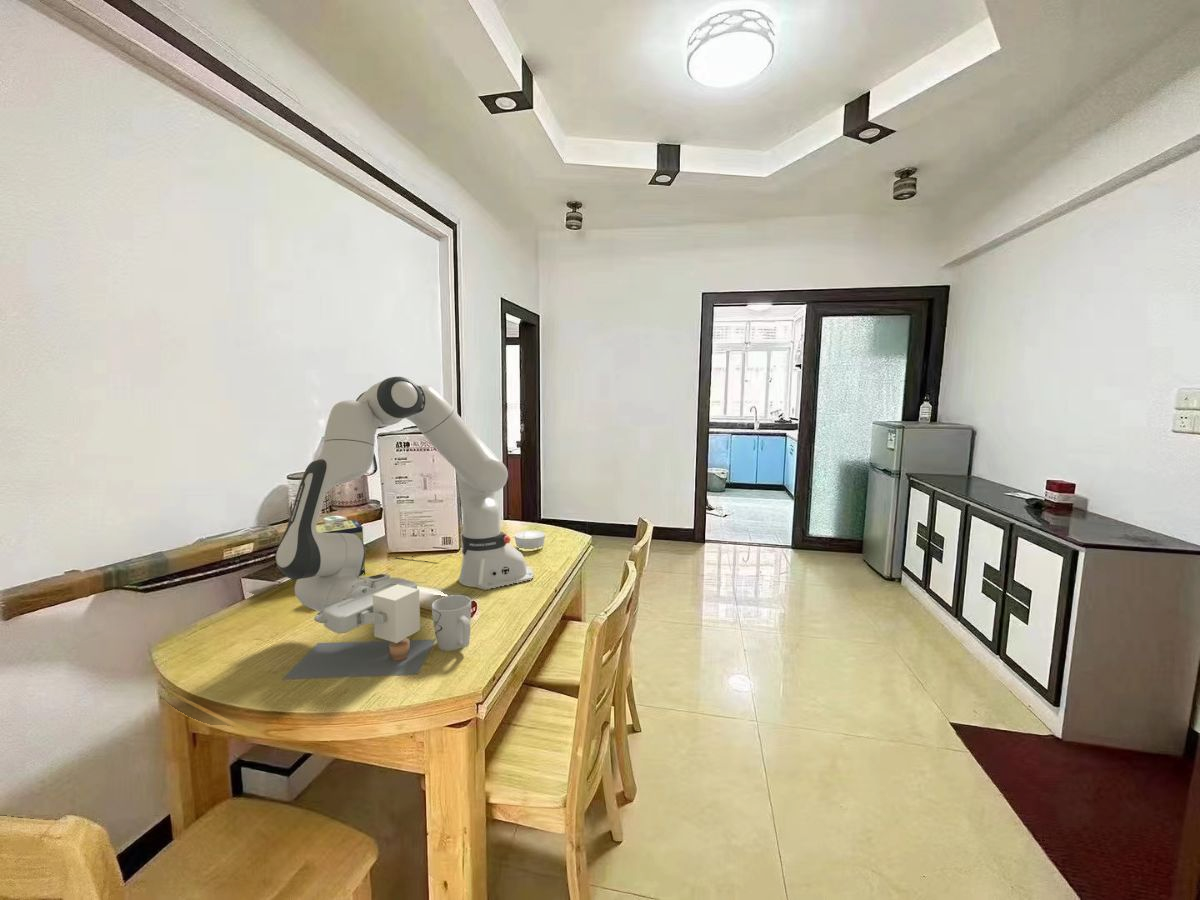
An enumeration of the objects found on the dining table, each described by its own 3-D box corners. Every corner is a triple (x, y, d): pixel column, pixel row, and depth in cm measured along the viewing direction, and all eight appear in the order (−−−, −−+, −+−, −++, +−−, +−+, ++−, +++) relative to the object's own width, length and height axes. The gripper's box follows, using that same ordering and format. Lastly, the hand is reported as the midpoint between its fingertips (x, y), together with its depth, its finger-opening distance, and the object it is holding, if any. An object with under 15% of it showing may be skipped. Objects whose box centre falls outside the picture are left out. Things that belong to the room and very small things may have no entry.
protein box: (304, 575, 150) (301, 526, 148) (359, 564, 159) (357, 519, 157) (308, 585, 142) (305, 534, 140) (366, 574, 151) (363, 526, 149)
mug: (486, 650, 106) (485, 607, 105) (450, 665, 100) (449, 619, 99) (460, 632, 114) (459, 591, 113) (426, 644, 108) (425, 602, 107)
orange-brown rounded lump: (410, 650, 105) (409, 636, 105) (409, 659, 101) (409, 645, 101) (390, 653, 104) (389, 639, 103) (389, 663, 100) (388, 648, 100)
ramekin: (509, 547, 178) (508, 533, 178) (534, 541, 186) (534, 528, 185) (524, 555, 170) (524, 540, 169) (551, 548, 177) (551, 535, 176)
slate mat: (436, 640, 110) (435, 639, 110) (417, 676, 96) (417, 674, 96) (318, 644, 108) (318, 642, 108) (281, 681, 94) (281, 679, 94)
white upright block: (398, 623, 106) (397, 584, 105) (420, 629, 103) (419, 589, 102) (374, 636, 100) (372, 594, 99) (396, 643, 98) (395, 600, 97)
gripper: (308, 603, 97) (355, 617, 91) (390, 570, 115) (434, 580, 110) (309, 633, 98) (357, 648, 92) (391, 596, 116) (435, 607, 110)
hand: (399, 611), depth 101 cm, fingers closed on white upright block, 6 cm apart
